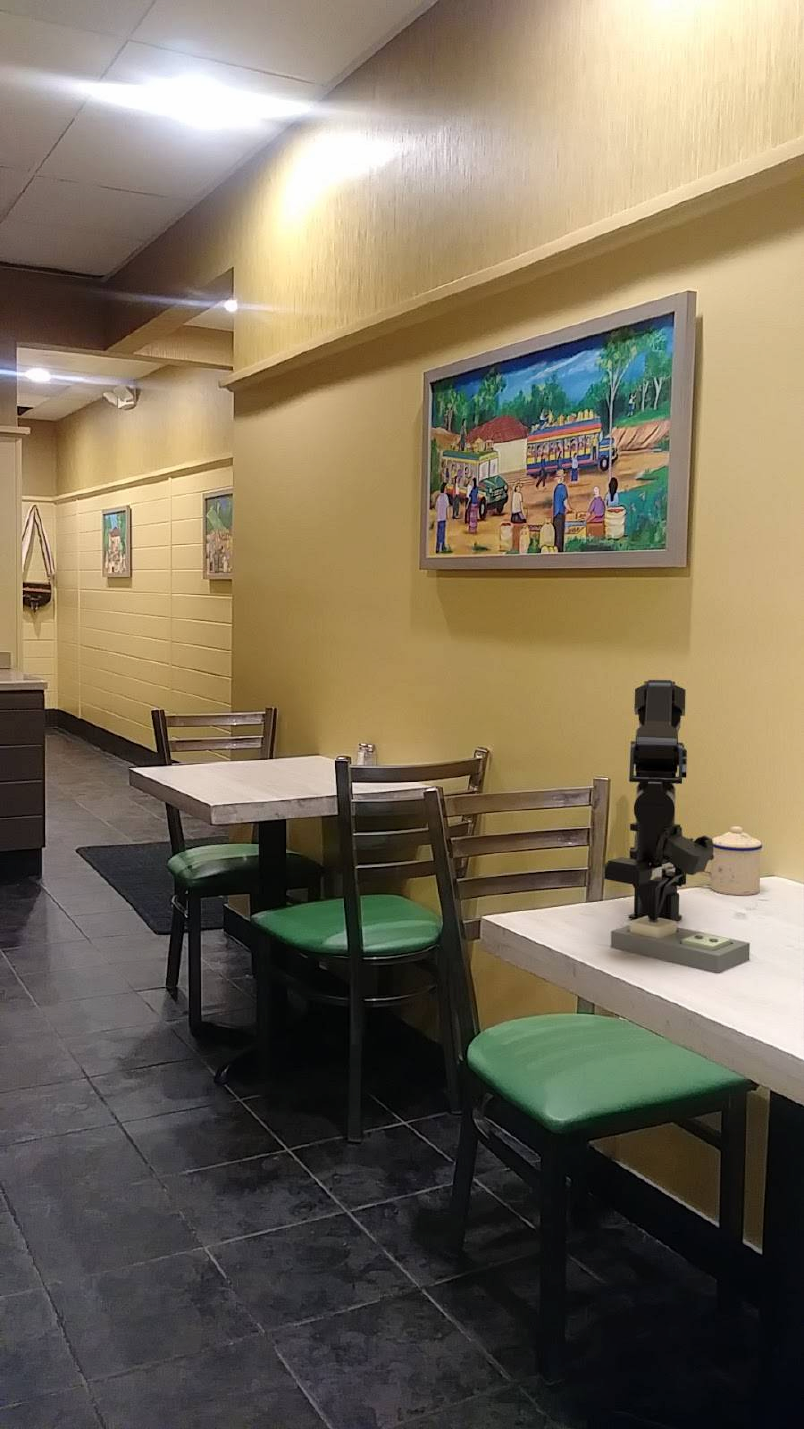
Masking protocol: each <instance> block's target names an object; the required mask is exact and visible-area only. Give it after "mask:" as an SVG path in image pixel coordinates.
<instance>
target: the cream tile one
mask: <svg viewBox="0 0 804 1429" xmlns="http://www.w3.org/2000/svg"><path fill="white" fill-rule="evenodd" d="M677 921H678V920H676V921H673V920H668V919H664V918H659V917H658V919H656V920H651V919H649V918H648V916H644V917H641V918H638V919H635V920H633V919H632V920H629V925H630V932H632V933H637V934H641V935H645V936H650V937H654V938H658V939H660V938H662V937H665V936H668V935H671V934H673V933H676V927H678V926H677V925H678V924H677Z"/></svg>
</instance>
